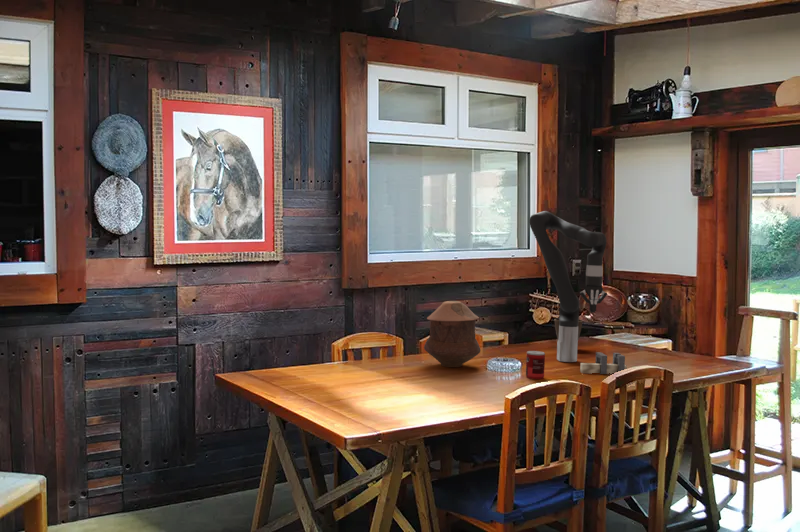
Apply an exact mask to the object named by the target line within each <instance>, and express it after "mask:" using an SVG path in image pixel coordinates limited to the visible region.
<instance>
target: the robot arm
mask: <svg viewBox="0 0 800 532" xmlns="http://www.w3.org/2000/svg"><path fill="white" fill-rule="evenodd" d="M528 222H529V226H530V229H531V231H532V234H533V235H534V237H535V240H536V242H537V244H538V247H539V250H540V252H541V255H542V257H543V260H544V263H545V267H546V269H547V271H548V274H549V277H550V278H551V281H552V282H553V284H554V286H555V288H556V293H557V296H558V300H559V316H558V317H559V318H558V319H559V340H558V339H557V344H556V360H557V361H559V362H565V363H576V362H577V360H578V347H579V346H578V345H579V343H578V341H579V339H578V322H579V320H580V319H579V316H580V315H579V314H580V313H579V311H580V300H579V299H580V298H579V297H578V295H577V294H576V292H575V290H574V288H573V286H572V284H571V280H570V276H569V271H568V266H567V263H566V260H565V257H564V255H563V253H562V251H561V250H560V248H558V246H556V245H555V244H554V242H552V240H551V239H550V237H549V234H548V232H547V231H548V230H549V229H551V230H556V231H559V232H560V233H562V235H563V236H564V237H566V238H568V239H570V240H573V241H575V242H579V243H580V244H582V245H584V246H587V247H589V248H591V251H590V252H589V253H588V254H587V256H586V257H587V258H586V268H585V287H584V289H583V290H582V291H580V292H579V295H580V296H581V298H582V299H583V300H584V302H585V303H587V304H589V305H588V306H589V307H588V308H589V309H588V310H589V312H590V313H592V314H593V313H595V312H596V311H597V305H598V304H601V303H602V301H603V300H604V299H605V298H606V297H608V293H607V292H606V291H604V288H603V277H604V276H603V274H604V273H603V272H604V270H603V269H604V268H603V261H604V259H603V258H604V254H605V251H606V246H607V237H606V235H605V233H603V232H600V231H590V230H587V229H586V228H585V227H583V226H580V225H577V224H574V223H572V222H568V221H566V220H564V219H562V218H561V217H558V216H557V215H555V214H554V213H552V212H549V211H547V210H543V211H540V212H536V213H533V214H532V215H530V217H529V221H528ZM586 295H587V296H588V297H587V296H586ZM599 296H600V297H599Z"/></svg>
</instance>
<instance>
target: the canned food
mask: <svg viewBox="0 0 800 532" xmlns="http://www.w3.org/2000/svg"><path fill="white" fill-rule="evenodd" d="M525 359H526V360H525V362H526V364H525V376H526V378H527V379H530V380H531V379H532V380H543V379H544V377H545V368H546V367H545V365H546V364H545V363H546V361H545V359H546V353H545V352H544V351H539V350H528V351H526V358H525Z"/></svg>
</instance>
